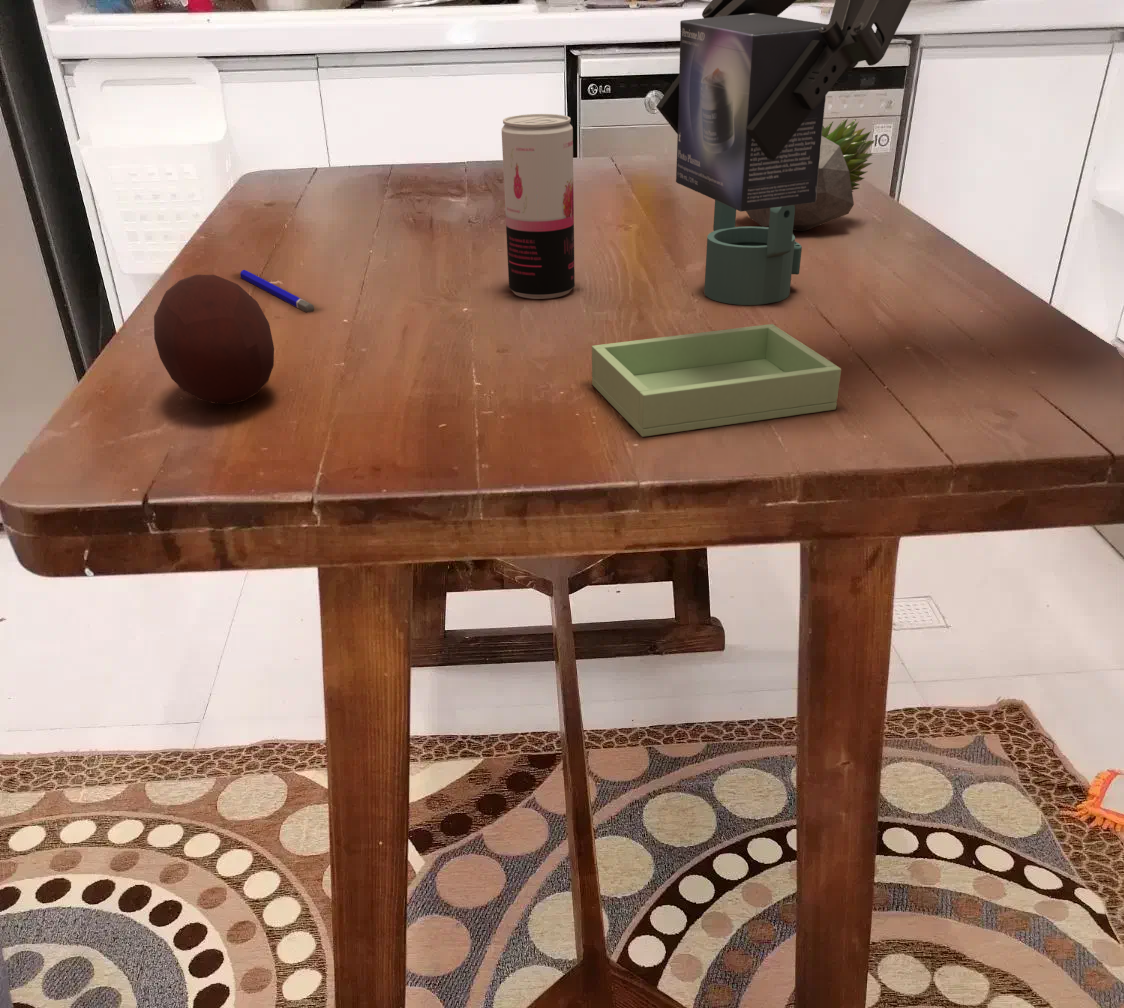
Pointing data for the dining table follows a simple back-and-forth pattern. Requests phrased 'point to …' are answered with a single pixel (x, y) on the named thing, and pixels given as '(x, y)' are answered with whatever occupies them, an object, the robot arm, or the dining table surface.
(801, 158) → the small box
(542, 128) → the beverage can
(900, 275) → the dining table surface
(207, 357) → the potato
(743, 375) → the tray
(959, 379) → the dining table surface
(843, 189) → the potted plant
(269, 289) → the pencil
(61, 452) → the dining table surface
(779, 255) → the bracket
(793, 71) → the robot arm
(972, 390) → the dining table surface
